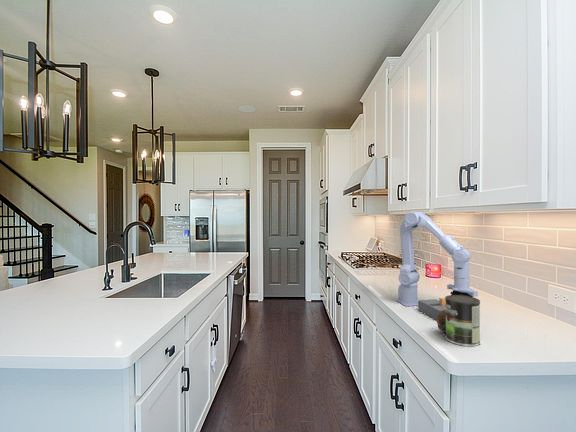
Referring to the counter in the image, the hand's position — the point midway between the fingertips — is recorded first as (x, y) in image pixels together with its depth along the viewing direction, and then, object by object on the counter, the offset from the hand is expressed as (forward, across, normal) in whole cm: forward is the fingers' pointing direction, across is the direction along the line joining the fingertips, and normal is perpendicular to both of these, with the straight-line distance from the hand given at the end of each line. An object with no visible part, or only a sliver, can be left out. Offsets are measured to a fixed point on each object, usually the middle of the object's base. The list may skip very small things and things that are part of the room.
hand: (461, 309), depth 135 cm
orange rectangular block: (+1, -1, -4) cm, 4 cm away
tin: (+2, +16, -18) cm, 24 cm away
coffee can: (+2, +23, -22) cm, 32 cm away
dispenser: (+2, -2, -11) cm, 11 cm away
